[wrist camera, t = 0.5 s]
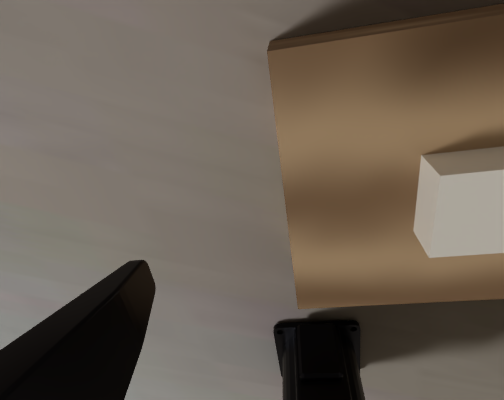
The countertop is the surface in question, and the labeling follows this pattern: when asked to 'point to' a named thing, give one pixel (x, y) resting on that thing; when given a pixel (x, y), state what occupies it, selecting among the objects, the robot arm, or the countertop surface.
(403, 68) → the wooden block
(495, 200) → the tile
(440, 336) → the countertop surface
